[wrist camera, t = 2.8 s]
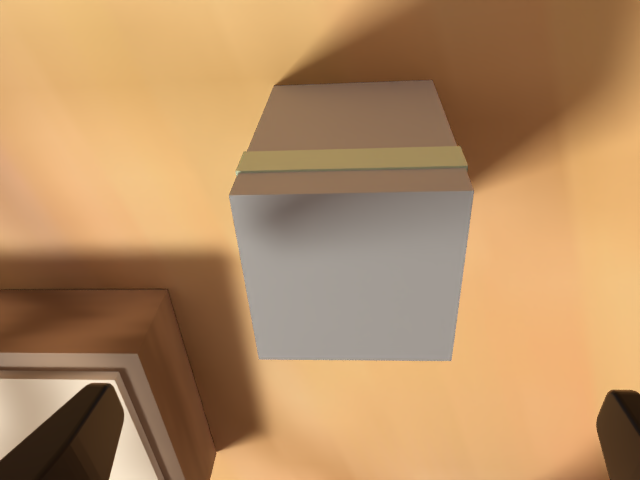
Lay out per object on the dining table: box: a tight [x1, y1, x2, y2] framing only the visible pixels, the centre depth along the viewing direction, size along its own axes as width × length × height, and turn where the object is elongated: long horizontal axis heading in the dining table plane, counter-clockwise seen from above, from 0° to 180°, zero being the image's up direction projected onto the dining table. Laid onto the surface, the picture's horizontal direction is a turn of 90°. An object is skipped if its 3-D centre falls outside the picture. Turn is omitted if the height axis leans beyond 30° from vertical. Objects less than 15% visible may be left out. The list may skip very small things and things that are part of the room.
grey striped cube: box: [229, 80, 474, 361], centre depth 15 cm, size 5×5×7 cm
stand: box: [0, 289, 216, 480], centre depth 24 cm, size 12×12×4 cm
